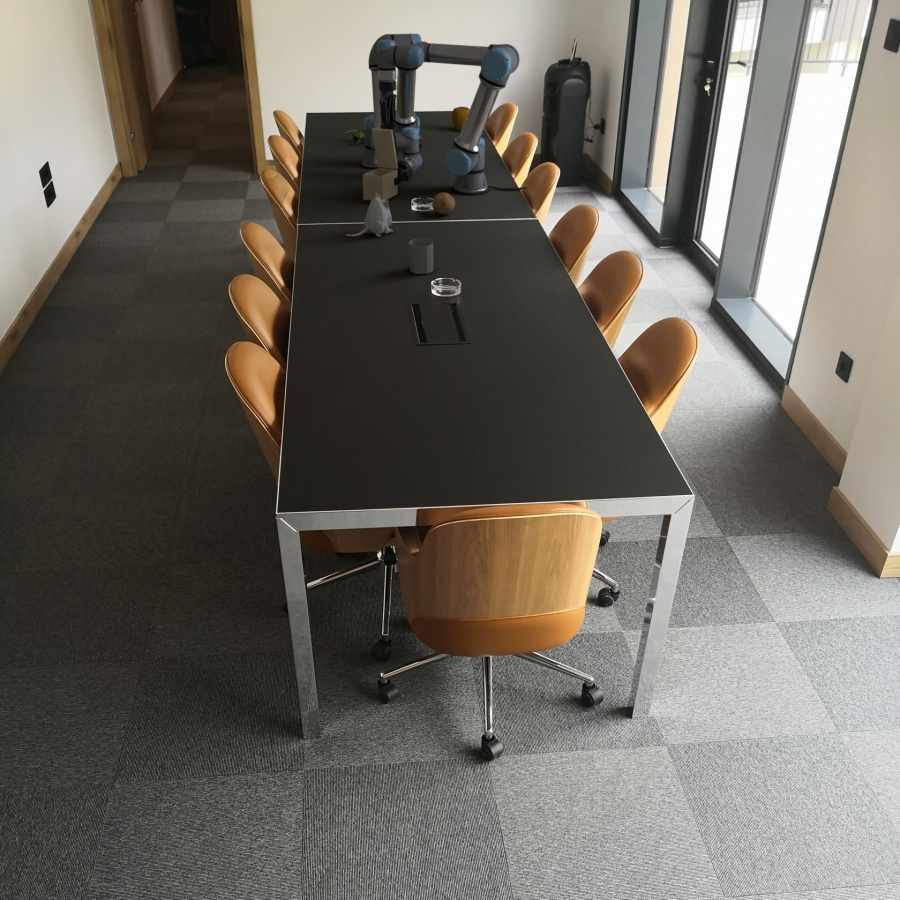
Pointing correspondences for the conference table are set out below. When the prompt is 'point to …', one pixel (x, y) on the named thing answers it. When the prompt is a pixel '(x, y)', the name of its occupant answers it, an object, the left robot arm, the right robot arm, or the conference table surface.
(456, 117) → the apple
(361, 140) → the green dinosaur
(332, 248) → the conference table surface
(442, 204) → the potato
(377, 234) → the toy
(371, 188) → the chest
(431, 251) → the cup
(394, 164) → the lid
